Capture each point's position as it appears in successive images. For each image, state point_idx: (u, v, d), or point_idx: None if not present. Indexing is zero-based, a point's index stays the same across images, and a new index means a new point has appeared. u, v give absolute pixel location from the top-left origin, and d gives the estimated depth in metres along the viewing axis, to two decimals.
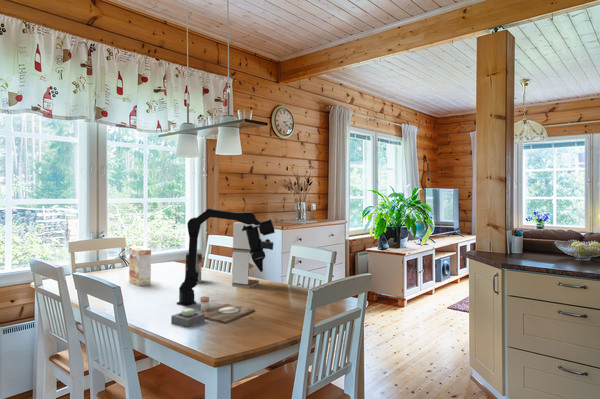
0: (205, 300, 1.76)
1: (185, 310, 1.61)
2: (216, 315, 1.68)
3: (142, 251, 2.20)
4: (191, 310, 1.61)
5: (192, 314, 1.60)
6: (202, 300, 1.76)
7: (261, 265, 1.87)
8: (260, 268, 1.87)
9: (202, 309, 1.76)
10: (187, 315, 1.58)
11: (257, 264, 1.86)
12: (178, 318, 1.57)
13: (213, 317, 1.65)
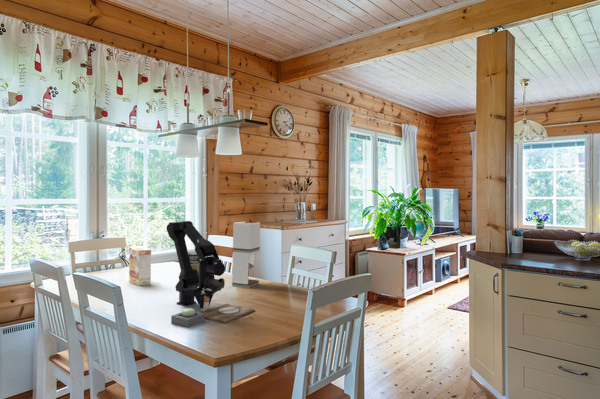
0: (205, 300, 1.76)
1: (185, 310, 1.61)
2: (216, 315, 1.68)
3: (142, 251, 2.20)
4: (191, 310, 1.61)
5: (192, 314, 1.60)
6: None
7: (201, 302, 1.75)
8: (200, 305, 1.76)
9: (202, 309, 1.76)
10: (187, 315, 1.58)
11: (197, 299, 1.76)
12: (178, 318, 1.57)
13: (213, 317, 1.65)
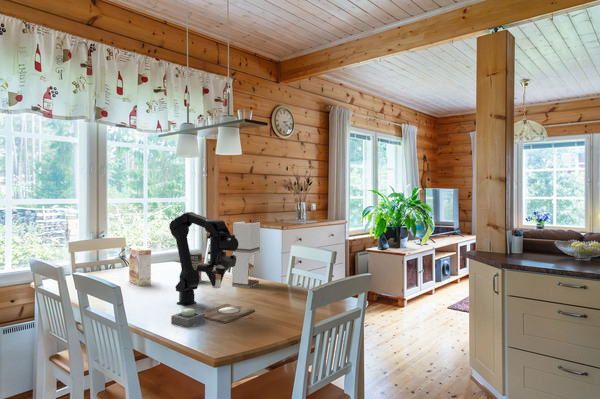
0: (217, 277, 1.74)
1: (185, 310, 1.61)
2: (216, 315, 1.68)
3: (142, 251, 2.20)
4: (191, 310, 1.61)
5: (192, 314, 1.60)
6: None
7: (213, 279, 1.73)
8: (212, 282, 1.74)
9: (214, 286, 1.75)
10: (187, 315, 1.58)
11: (209, 276, 1.74)
12: (178, 318, 1.57)
13: (213, 317, 1.65)
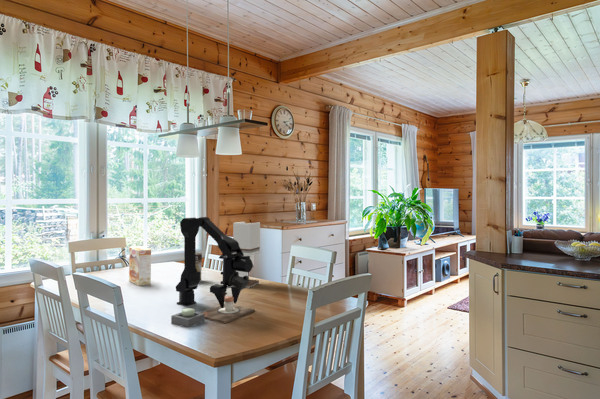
0: (229, 300, 1.73)
1: (185, 310, 1.61)
2: (216, 315, 1.68)
3: (142, 251, 2.20)
4: (191, 310, 1.61)
5: (192, 314, 1.60)
6: (226, 300, 1.73)
7: (222, 301, 1.70)
8: (220, 304, 1.71)
9: (226, 309, 1.74)
10: (187, 315, 1.58)
11: (218, 298, 1.71)
12: (178, 318, 1.57)
13: (213, 317, 1.65)
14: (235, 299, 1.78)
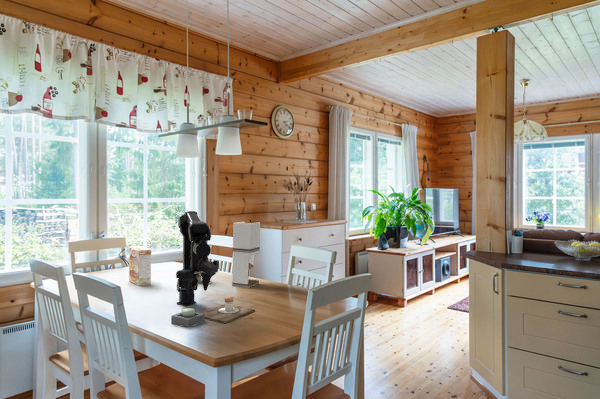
0: (229, 300, 1.73)
1: (185, 310, 1.61)
2: (216, 315, 1.68)
3: (142, 251, 2.20)
4: (191, 310, 1.61)
5: (192, 314, 1.60)
6: (226, 300, 1.73)
7: (189, 287, 1.58)
8: (187, 291, 1.59)
9: (226, 309, 1.74)
10: (187, 315, 1.58)
11: (185, 285, 1.59)
12: (178, 318, 1.57)
13: (213, 317, 1.65)
14: (205, 286, 1.67)
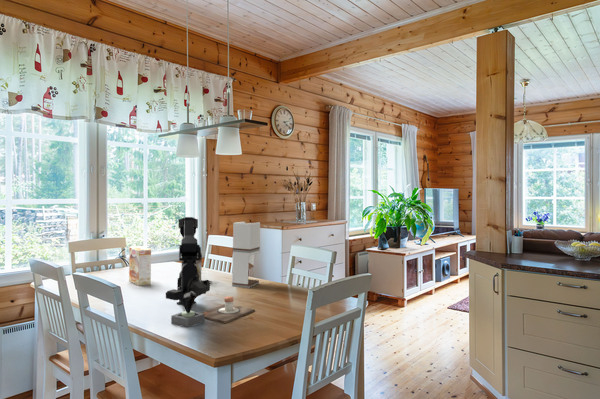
0: (229, 300, 1.73)
1: (185, 312, 1.61)
2: (216, 315, 1.68)
3: (142, 251, 2.20)
4: (191, 312, 1.61)
5: (192, 316, 1.60)
6: (226, 300, 1.73)
7: (187, 305, 1.60)
8: (186, 308, 1.60)
9: (226, 309, 1.74)
10: (187, 317, 1.59)
11: (183, 302, 1.60)
12: (178, 318, 1.57)
13: (213, 317, 1.65)
14: None
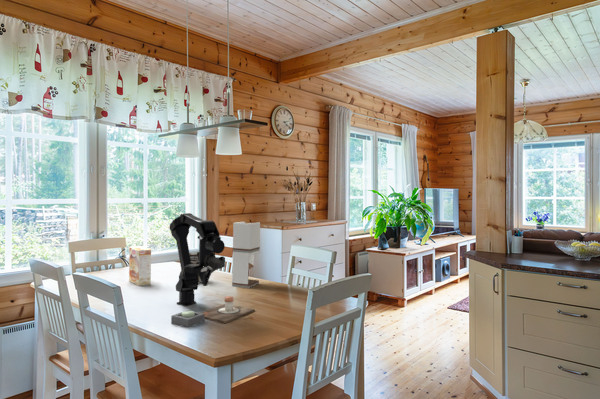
0: (229, 300, 1.73)
1: (185, 312, 1.61)
2: (216, 315, 1.68)
3: (142, 251, 2.20)
4: (191, 313, 1.61)
5: None
6: (226, 300, 1.73)
7: (204, 279, 1.74)
8: (203, 282, 1.75)
9: (226, 309, 1.74)
10: None
11: (200, 276, 1.74)
12: (178, 318, 1.57)
13: (213, 317, 1.65)
14: None
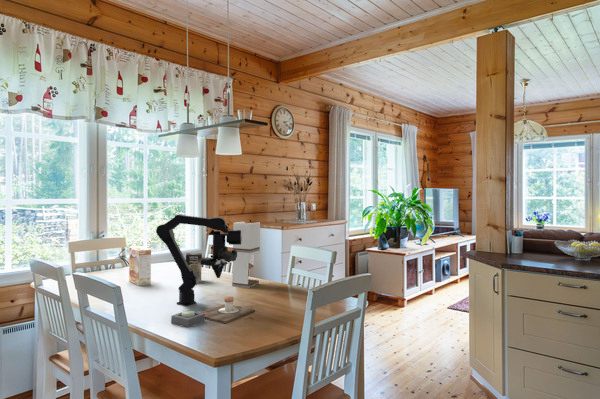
0: (229, 300, 1.73)
1: (185, 312, 1.61)
2: (216, 315, 1.68)
3: (142, 251, 2.20)
4: (191, 313, 1.61)
5: None
6: (226, 300, 1.73)
7: (218, 271, 1.87)
8: (216, 274, 1.88)
9: (226, 309, 1.74)
10: None
11: (214, 269, 1.87)
12: (178, 318, 1.57)
13: (213, 317, 1.65)
14: None
